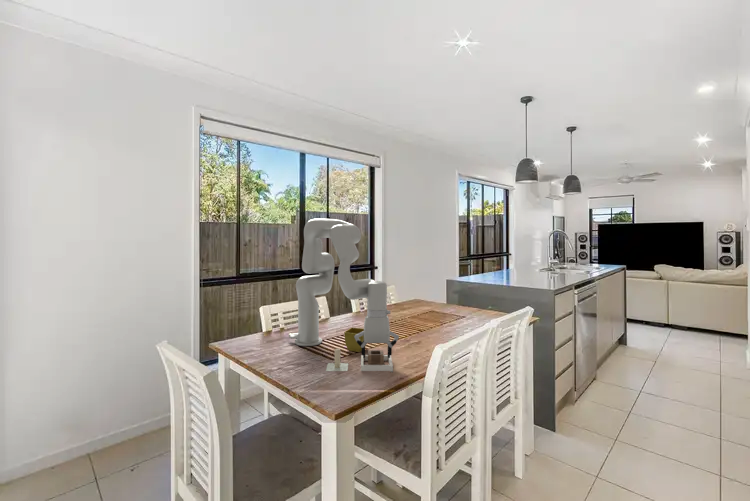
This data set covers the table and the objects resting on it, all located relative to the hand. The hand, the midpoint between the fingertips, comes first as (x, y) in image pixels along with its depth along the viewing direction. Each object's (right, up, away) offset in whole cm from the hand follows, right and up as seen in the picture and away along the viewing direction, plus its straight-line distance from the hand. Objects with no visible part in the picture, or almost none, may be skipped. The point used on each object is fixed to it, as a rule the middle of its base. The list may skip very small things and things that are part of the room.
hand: (376, 356), depth 142 cm
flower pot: (-9, -3, +19) cm, 21 cm away
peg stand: (-15, -4, -2) cm, 16 cm away
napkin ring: (0, -3, 0) cm, 3 cm away
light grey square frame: (0, -4, 0) cm, 4 cm away
